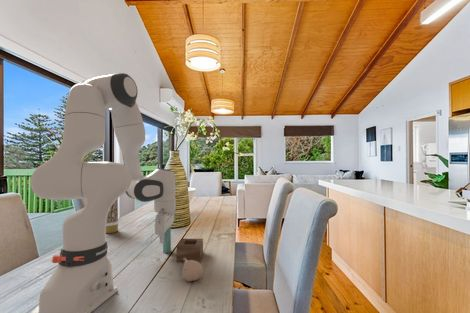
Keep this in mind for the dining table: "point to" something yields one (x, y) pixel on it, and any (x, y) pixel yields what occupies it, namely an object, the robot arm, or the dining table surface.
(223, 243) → the dining table surface
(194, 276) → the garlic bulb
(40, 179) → the robot arm
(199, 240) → the socket block
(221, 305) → the dining table surface
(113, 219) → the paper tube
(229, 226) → the dining table surface
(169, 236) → the peg
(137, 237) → the dining table surface
